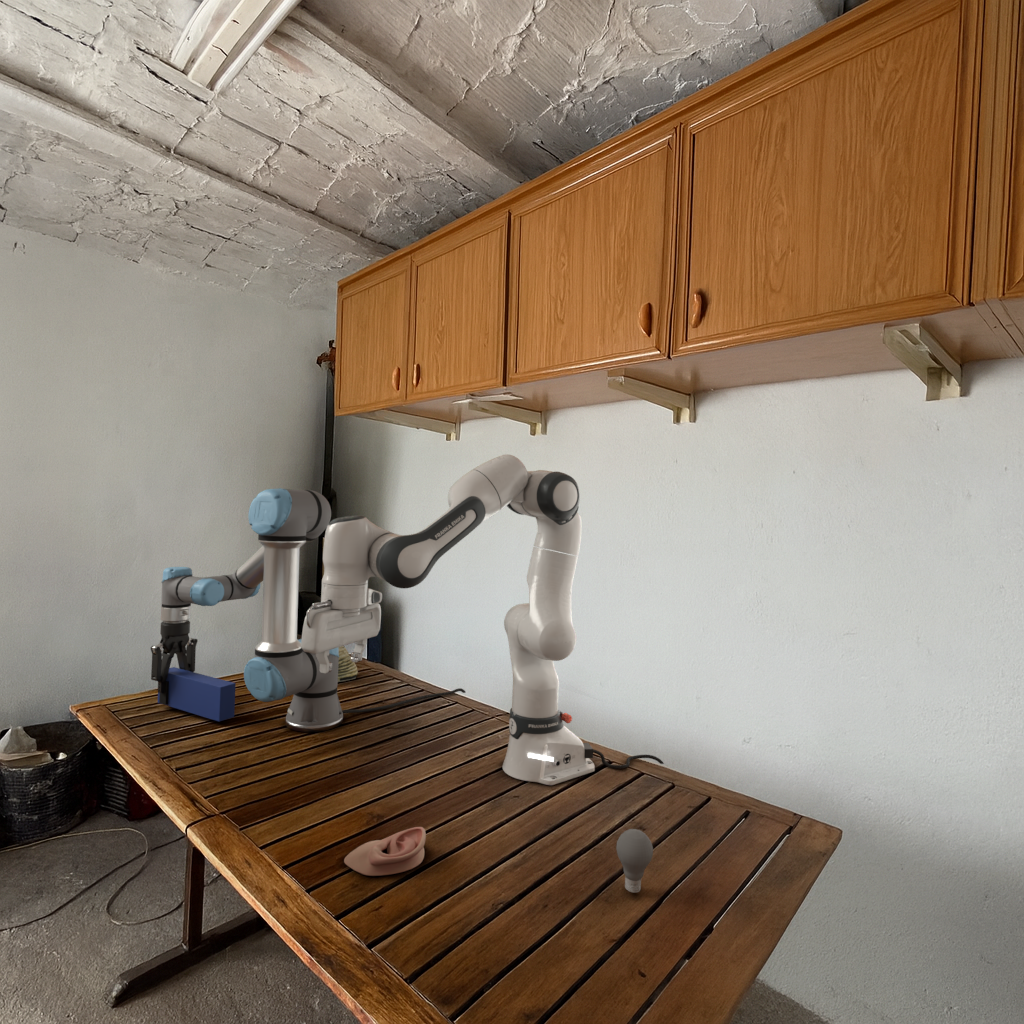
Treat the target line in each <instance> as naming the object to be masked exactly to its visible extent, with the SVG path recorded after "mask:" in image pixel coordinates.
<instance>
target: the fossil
mask: <svg viewBox="0 0 1024 1024" xmlns="http://www.w3.org/2000/svg"><path fill="white" fill-rule="evenodd" d="M358 675H359V671H358V666H357V664H356V662H352V661H351V655H350V652H349V651H348V650H347V648H346V647H345V645H344V646H341V647H339V664H338V683H340V682H346V681H350V680H351V681H352V680H355V679H357V677H358Z"/></svg>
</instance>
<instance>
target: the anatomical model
mask: <svg viewBox="0 0 1024 1024" xmlns="http://www.w3.org/2000/svg"><path fill="white" fill-rule="evenodd" d="M426 839H427V834H426V829H425V827H423V826H415V827H411V828H407V829H404V830H401V831H398V832H396V833H394V834H392V835H389V836H387V837H385V838H383V839H376V840H370V841H368V842H365V843H363V844H361V845H359V846H357V847H356V848H355V849H353V850H352V851H350V852H349V853H348V854H347V855H346V856H345V857H344V859H343V863H344V865H346V866H347V867H348V868H350V869H352V870H353V871H355V872H356V873H359V874H361V875H364V876H369V877H377V876H389V875H394V874H395V875H396V874H399V873H403V872H407V871H409V870H412V869H414V868H416V867H418V866H419V865H421V863H422V862H423V860H424V859H425V848H424V846H425V844H426Z"/></svg>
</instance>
